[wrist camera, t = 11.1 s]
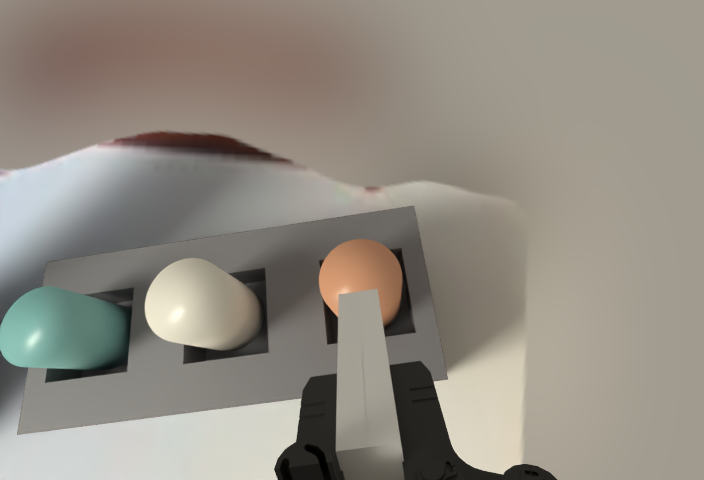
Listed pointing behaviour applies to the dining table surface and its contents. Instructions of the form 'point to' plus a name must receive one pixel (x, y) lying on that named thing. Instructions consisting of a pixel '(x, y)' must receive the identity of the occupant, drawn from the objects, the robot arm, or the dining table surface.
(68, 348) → the teal button
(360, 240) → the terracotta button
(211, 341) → the cream button
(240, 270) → the button console
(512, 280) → the dining table surface
